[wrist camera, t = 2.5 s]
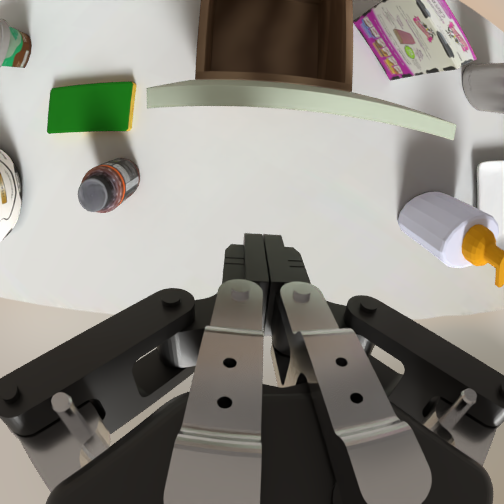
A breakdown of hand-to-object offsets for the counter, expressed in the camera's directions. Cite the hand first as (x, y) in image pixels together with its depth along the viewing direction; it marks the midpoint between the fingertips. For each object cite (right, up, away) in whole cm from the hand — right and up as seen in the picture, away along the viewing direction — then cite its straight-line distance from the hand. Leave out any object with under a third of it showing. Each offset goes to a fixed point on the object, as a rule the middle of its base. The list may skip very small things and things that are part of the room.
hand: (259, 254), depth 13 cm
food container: (-39, +35, +16) cm, 55 cm away
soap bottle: (+30, +7, +34) cm, 46 cm away
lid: (+3, +12, +7) cm, 14 cm away
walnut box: (+2, +29, +21) cm, 36 cm away
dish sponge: (-24, +21, +23) cm, 40 cm away
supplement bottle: (-19, +11, +28) cm, 36 cm away
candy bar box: (+20, +32, +22) cm, 43 cm away
